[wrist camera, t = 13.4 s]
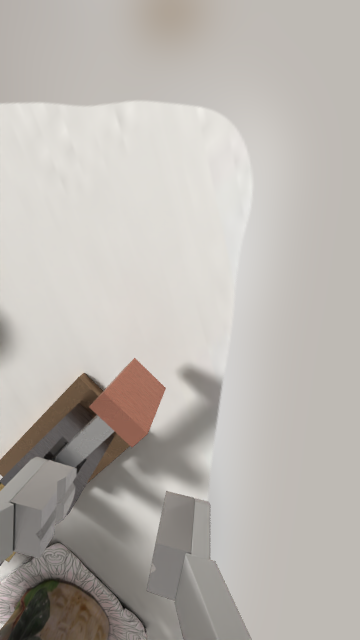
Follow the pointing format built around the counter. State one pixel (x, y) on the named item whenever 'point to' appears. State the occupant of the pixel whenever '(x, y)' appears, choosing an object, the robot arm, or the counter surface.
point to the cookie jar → (62, 603)
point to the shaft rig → (64, 437)
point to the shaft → (117, 413)
